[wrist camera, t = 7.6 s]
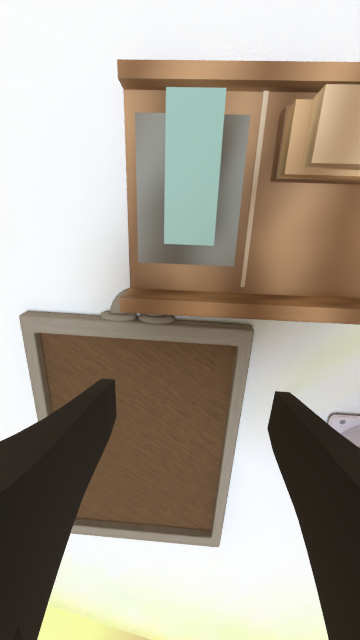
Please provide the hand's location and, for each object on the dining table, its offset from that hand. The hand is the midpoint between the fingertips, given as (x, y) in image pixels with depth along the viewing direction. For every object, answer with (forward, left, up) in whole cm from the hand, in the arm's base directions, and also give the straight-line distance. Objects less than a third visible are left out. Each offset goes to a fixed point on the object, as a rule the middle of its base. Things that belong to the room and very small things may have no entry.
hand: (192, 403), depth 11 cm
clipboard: (+5, +12, -11) cm, 17 cm away
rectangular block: (+1, -10, -9) cm, 13 cm away
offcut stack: (-7, -12, -9) cm, 17 cm away
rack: (-4, -9, -10) cm, 14 cm away
